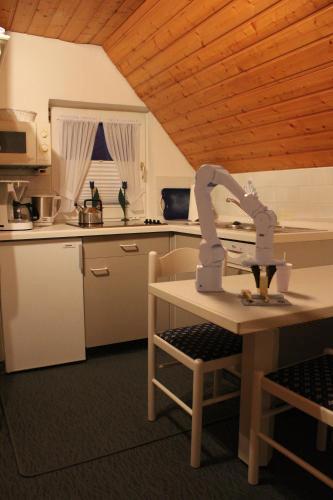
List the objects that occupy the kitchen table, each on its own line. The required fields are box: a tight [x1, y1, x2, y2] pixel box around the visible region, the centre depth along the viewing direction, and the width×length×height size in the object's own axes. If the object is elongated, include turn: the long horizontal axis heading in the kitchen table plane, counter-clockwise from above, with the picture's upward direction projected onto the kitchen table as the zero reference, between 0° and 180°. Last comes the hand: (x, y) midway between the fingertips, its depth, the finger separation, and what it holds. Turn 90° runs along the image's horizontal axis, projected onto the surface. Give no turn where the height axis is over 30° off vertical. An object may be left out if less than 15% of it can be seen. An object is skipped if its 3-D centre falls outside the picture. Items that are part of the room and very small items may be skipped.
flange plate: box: [240, 298, 293, 307], centre depth 133 cm, size 15×6×1 cm, turn 91°
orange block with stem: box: [256, 275, 269, 301], centre depth 137 cm, size 3×9×6 cm, turn 1°
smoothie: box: [274, 251, 294, 293], centre depth 148 cm, size 6×6×14 cm
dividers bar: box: [237, 289, 285, 301], centre depth 137 cm, size 15×9×2 cm, turn 91°
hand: (262, 287), depth 139 cm, fingers closed on orange block with stem, 3 cm apart
